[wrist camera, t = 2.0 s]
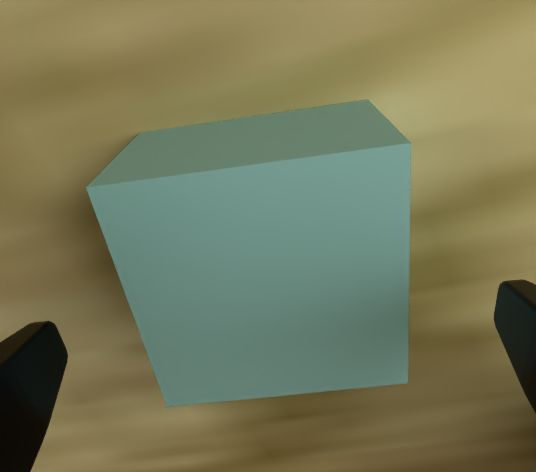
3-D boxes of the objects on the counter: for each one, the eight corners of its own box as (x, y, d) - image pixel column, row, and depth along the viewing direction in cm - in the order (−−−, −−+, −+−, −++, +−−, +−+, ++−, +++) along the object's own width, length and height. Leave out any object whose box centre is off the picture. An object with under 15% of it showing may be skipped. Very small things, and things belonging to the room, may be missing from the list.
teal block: (373, 287, 14) (407, 383, 11) (192, 308, 14) (166, 406, 11) (366, 98, 11) (411, 142, 8) (141, 131, 12) (86, 187, 8)
